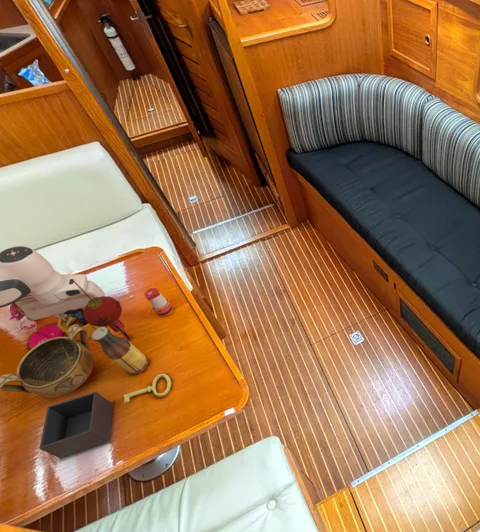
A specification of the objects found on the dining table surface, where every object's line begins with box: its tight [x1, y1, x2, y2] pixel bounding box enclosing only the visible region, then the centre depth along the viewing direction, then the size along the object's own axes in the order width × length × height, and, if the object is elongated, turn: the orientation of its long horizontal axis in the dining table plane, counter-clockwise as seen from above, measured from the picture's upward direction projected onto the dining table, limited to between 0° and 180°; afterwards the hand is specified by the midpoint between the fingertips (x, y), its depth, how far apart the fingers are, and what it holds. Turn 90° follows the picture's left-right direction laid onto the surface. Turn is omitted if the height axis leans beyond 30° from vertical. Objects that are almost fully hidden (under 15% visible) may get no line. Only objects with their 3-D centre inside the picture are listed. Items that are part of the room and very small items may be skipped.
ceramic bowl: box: [0, 323, 95, 398], centre depth 114 cm, size 22×17×15 cm
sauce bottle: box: [91, 326, 149, 375], centre depth 114 cm, size 7×6×20 cm
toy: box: [144, 287, 174, 317], centre depth 130 cm, size 5×8×15 cm
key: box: [123, 373, 172, 404], centre depth 115 cm, size 7×12×2 cm, turn 133°
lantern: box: [72, 279, 132, 341], centre depth 117 cm, size 10×10×30 cm
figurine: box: [8, 309, 64, 350], centre depth 123 cm, size 10×10×15 cm
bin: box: [38, 391, 114, 460], centre depth 106 cm, size 12×12×8 cm
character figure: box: [64, 308, 88, 327], centre depth 128 cm, size 9×4×12 cm, turn 147°
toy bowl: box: [56, 307, 106, 341], centre depth 130 cm, size 12×13×5 cm
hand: (79, 315), depth 128 cm, fingers open, 5 cm apart
